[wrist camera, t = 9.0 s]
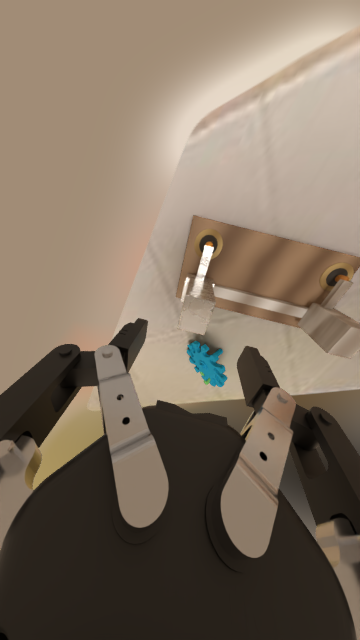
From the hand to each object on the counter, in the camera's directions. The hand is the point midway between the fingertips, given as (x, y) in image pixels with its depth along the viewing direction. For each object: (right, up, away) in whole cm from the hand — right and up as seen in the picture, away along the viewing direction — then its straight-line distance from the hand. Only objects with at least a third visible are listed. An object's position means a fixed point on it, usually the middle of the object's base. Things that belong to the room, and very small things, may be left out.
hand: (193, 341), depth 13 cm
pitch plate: (+11, +9, +13) cm, 19 cm away
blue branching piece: (+4, -5, +22) cm, 23 cm away
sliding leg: (+2, +9, +11) cm, 15 cm away
